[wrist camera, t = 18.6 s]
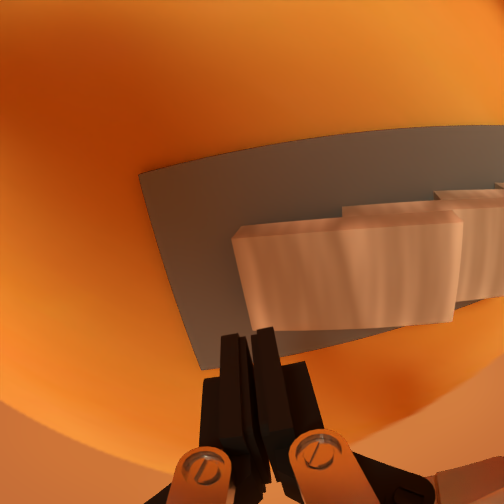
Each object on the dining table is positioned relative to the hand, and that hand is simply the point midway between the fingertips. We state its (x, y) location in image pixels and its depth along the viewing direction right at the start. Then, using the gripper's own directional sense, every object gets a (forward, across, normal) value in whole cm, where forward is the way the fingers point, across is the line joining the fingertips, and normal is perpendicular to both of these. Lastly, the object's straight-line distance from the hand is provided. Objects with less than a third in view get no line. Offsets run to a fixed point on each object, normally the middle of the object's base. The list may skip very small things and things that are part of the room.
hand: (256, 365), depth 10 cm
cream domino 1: (+6, 0, 0) cm, 6 cm away
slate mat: (+7, -10, 0) cm, 12 cm away
